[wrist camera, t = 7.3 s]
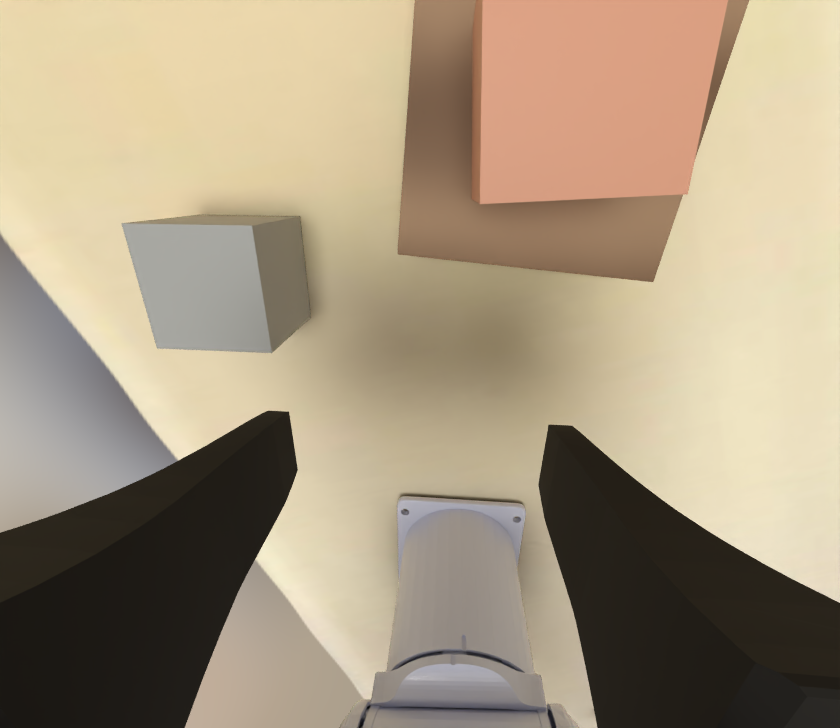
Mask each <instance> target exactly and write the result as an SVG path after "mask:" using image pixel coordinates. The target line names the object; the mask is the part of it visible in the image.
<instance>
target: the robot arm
mask: <svg viewBox="0 0 840 728" xmlns="http://www.w3.org/2000/svg"><path fill="white" fill-rule="evenodd" d="M297 470H298V469H297V463H296V456H295V449H294V443H293V436H292V429H291V423H290V416H289V412H281V411H267V412H265V413H262V414H260V415H258V416H257V417H255V418H253V419H251V420H249V421H248V422H246V423H244V424H243V425H241V426H239V427H237V428H236V429H234V430H232V431H231V432H229V433H227V434H225V435H224V436H222V437H220V438H219V439H217V440H215V441H213V442H212V443H210V444H208V445H207V446H205V447H203V448H201V449H199V450H197V451H196V452H194V453H192V454H190V455H188V456H186V457H184V458H183V459H181V460H179V461H177V462H175V463H173V464H172V465H170V466H168V467H166V468H164V469H162V470H160V471H158V472H156V473H154V474H152V475H150V476H148V477H145V478H143V479H141V480H139V481H137V482H135V483H132V484H130V485H128V486H126V487H123V488H121V489H119V490H117V491H115V492H112V493H110V494H108V495H105V496H102V497H99V498H97V499H94V500H92V501H89V502H87V503H84V504H81V505H79V506H76V507H74V508H71V509H68V510H66V511H63V512H61V513H58V514H55V515H53V516H50V517H47V518H44V519H41V520H38V521H35V522H32V523H29V524H26V525H23V526H20V527H17V528H14V529H11V530H8V531H5V532H1V533H0V728H185V725H186V722H187V720H188V717H189V714H190V711H191V708H192V706H193V703H194V701H195V698H196V695H197V692H198V690H199V687H200V684H201V682H202V679H203V676H204V674H205V671H206V669H207V666H208V664H209V661H210V658H211V656H212V653H213V651H214V649H215V646H216V644H217V641H218V638H219V636H220V633H221V631H222V629H223V626H224V624H225V622H226V619H227V617H228V614H229V612H230V609H231V607H232V605H233V603H234V600H235V598H236V596H237V593H238V591H239V589H240V587H241V585H242V583H243V581H244V579H245V577H246V575H247V573H248V571H249V569H250V568H251V566H252V564H253V562H254V560H255V558H256V557H257V555H258V553H259V551H260V549H261V547H262V545H263V544H264V542H265V540H266V538H267V536H268V534H269V533H270V531H271V529H272V527H273V525H274V523H275V521H276V520H277V518H278V516H279V514H280V512H281V510H282V508H283V506H284V504H285V502H286V500H287V497H288V495H289V492H290V490H291V487H292V484H293V482H294V479H295V476H296V473H297ZM539 490H540V496H541V502H542V507H543V513H544V518H545V521H546V525H547V528H548V531H549V535H550V538H551V541H552V544H553V548H554V551H555V554H556V557H557V560H558V563H559V566H560V570H561V573H562V576H563V579H564V582H565V585H566V588H567V592H568V595H569V598H570V601H571V605H572V608H573V612H574V616H575V619H576V624H577V628H578V633H579V638H580V642H581V647H582V651H583V656H584V661H585V665H586V670H587V676H588V681H589V686H590V691H591V696H592V701H593V706H594V711H595V716H596V721H597V727H598V728H840V603H839V602H837V601H835V600H833V599H831V598H829V597H827V596H825V595H823V594H821V593H819V592H817V591H815V590H813V589H811V588H809V587H807V586H805V585H803V584H801V583H799V582H797V581H795V580H793V579H791V578H789V577H787V576H785V575H783V574H781V573H780V572H778V571H776V570H774V569H772V568H770V567H768V566H766V565H765V564H763V563H761V562H759V561H758V560H756V559H754V558H752V557H751V556H749V555H747V554H745V553H744V552H742V551H740V550H738V549H737V548H735V547H733V546H731V545H730V544H728V543H726V542H725V541H723V540H721V539H720V538H718V537H717V536H715V535H713V534H712V533H710V532H708V531H707V530H705V529H704V528H702V527H701V526H699V525H698V524H696V523H695V522H693V521H692V520H690V519H689V518H687V517H686V516H684V515H683V514H681V513H680V512H678V511H677V510H675V509H674V508H672V507H671V506H670V505H668V504H667V503H665V502H664V501H663V500H661V499H660V498H659V497H657V496H656V495H655V494H653V493H652V492H651V491H649V490H648V489H647V488H646V487H644V486H643V485H642V484H640V483H639V482H638V481H637V480H635V479H634V478H633V477H632V476H630V475H629V474H628V473H627V472H625V471H624V470H623V469H622V468H621V467H619V466H618V465H617V464H616V463H615V462H614V461H612V460H611V459H610V458H609V457H608V456H607V455H605V454H604V453H603V452H602V451H601V450H600V449H599V448H597V447H596V446H595V445H594V444H593V443H592V442H591V441H589V440H588V439H587V438H586V437H585V436H584V435H583V434H581V433H580V432H579V431H578V430H577V429H575V428H574V427H573V426H566V425H549V426H548V432H547V438H546V444H545V450H544V455H543V461H542V467H541V473H540V479H539ZM403 509H407V510H408V511H405V510H403ZM516 516H518V518H514V517H516ZM525 516H526V511H525V507H524V506H523V505H522V504H519V503H507V502H491V501H475V500H460V499H444V498H428V497H412V496H402V497H400V498H399V499H398V504H397V519H398V573H399V584H398V591H397V598H396V605H395V613H394V620H393V627H392V634H391V641H390V649H389V656H388V663H387V670H386V672H377V673H376V674H375V680H374V686H373V692H372V698H371V700H365V699H362V700H359V701H358V702H356V703H355V705H354V706H353V707H352V709H351V711H350V713H349V714H348V715H347V716H346V718H345V719H344V720H343V722H342V723H341V725H340V727H339V728H579V726H578V725H577V723H576V722H575V721H574V720H573V719H572V718H571V717H570V716H569V715H568V714H567V712H566V710H565V708H564V707H563V706H562V705H561V704H548V705H547V707H546V701H545V696H544V690H543V685H542V679H541V676H540V675H538V674H535V673H534V667H533V661H532V655H531V649H530V643H529V637H528V631H527V625H526V619H525V613H524V607H523V601H522V595H521V589H520V583H519V577H518V571H517V566H518V560H519V554H520V547H521V541H522V535H523V528H524V522H525Z"/></svg>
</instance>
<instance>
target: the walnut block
mask: <svg viewBox="0 0 840 728" xmlns="http://www.w3.org/2000/svg"><path fill="white" fill-rule="evenodd" d="M748 2H749V0H728V3H727V8H726V13H725V17H724V22H723V27H722V32H721V37H720V41H719V46H718V51H717V56H716V60H715V65H714V70H713V75H712V80H711V84H710V89H709V94H708V99H707V104H706V108H705V113H704V118H703V123H702V127H701V132H700V137H699V142H698V147H697V151H696V155H697V152H698V149H699V146H700V143H701V140H702V137H703V134H704V131H705V128H706V125H707V123H708V120H709V117H710V114H711V111H712V108H713V105H714V102H715V99H716V96H717V93H718V90H719V87H720V84H721V81H722V79H723V76H724V73H725V70H726V67H727V64H728V61H729V58H730V55H731V52H732V49H733V46H734V43H735V40H736V37H737V34H738V32H739V29H740V26H741V23H742V20H743V17H744V14H745V11H746V8H747V5H748ZM475 4H476V0H415V7H414V21H413V36H412V51H411V65H410V80H409V95H408V109H407V124H406V138H405V153H404V168H403V182H402V197H401V211H400V226H399V241H398V254H400V255H410V256H419V257H428V258H437V259H446V260H455V261H465V262H474V263H483V264H492V265H501V266H510V267H520V268H529V269H538V270H547V271H556V272H565V273H575V274H584V275H593V276H602V277H611V278H621V279H630V280H639V281H648V282H653V281H654V278H655V275H656V272H657V269H658V266H659V263H660V260H661V257H662V255H663V252H664V249H665V246H666V243H667V240H668V237H669V234H670V231H671V228H672V225H673V222H674V219H675V216H676V213H677V211H678V208H679V205H680V202H681V199H682V196H683V194H681V195H660V196H639V197H618V198H598V199H577V200H556V201H535V202H514V203H493V204H479V203H477V202H476V201H474V200H472V33H473V21H474V13H475ZM695 158H696V156H695Z"/></svg>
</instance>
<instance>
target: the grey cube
mask: <svg viewBox="0 0 840 728" xmlns="http://www.w3.org/2000/svg"><path fill="white" fill-rule="evenodd" d="M122 227H123V230H124V234H125V237H126V241H127V244H128V248H129V251H130V255H131V258H132V262H133V265H134V269H135V272H136V276H137V279H138V283H139V287H140V290H141V294H142V297H143V301H144V304H145V308H146V311H147V315H148V318H149V322H150V325H151V329H152V332H153V336H154V339H155V343H156V346H157V348H160V349H185V350H211V351H236V352H261V353H272V352H273V351H275V350H276V349H277V348H278V347H279V346H280V345H281V344H282V343H283V342H284V341H285V340H287V339H288V338H289V337H290V336H291V335H292V334H293V333H294V332H295V331H296V330H298V329H299V328H300V327H301V326H302V325H303V324H304V323H305V322H306V321H307V320H309V319H310V318H311V313H310V304H309V295H308V286H307V276H306V267H305V258H304V249H303V240H302V230H301V221H300V216H237V215H194V216H185V217H176V218H167V219H158V220H148V221H139V222H130V223H122Z"/></svg>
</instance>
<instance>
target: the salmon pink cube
mask: <svg viewBox="0 0 840 728" xmlns="http://www.w3.org/2000/svg"><path fill="white" fill-rule="evenodd" d="M727 3H728V0H476V4H475V13H474V21H473V33H472V200H474V201H476V202H477V203H479V204H493V203H514V202H535V201H556V200H577V199H598V198H618V197H639V196H660V195H681V194H688V190H689V185H690V180H691V175H692V171H693V166H694V161H695V156H696V151H697V147H698V142H699V137H700V132H701V127H702V123H703V118H704V113H705V108H706V104H707V99H708V94H709V89H710V84H711V80H712V75H713V70H714V65H715V60H716V56H717V51H718V46H719V41H720V37H721V32H722V27H723V22H724V17H725V13H726V8H727Z"/></svg>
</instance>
